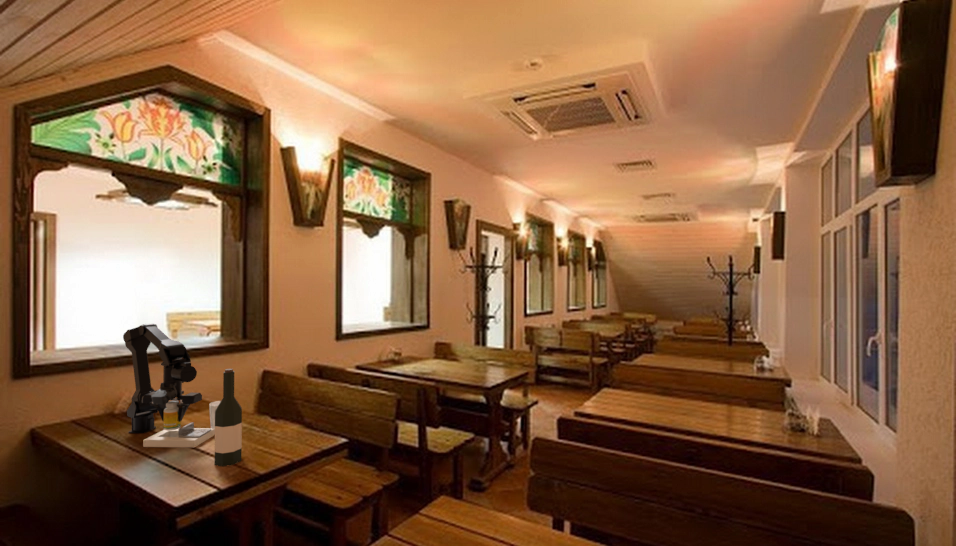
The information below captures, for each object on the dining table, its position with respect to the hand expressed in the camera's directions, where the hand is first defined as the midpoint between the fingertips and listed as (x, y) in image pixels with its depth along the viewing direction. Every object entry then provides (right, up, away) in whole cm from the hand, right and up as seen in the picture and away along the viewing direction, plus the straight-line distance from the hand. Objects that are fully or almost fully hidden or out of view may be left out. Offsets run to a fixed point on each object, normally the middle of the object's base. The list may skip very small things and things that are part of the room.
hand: (172, 421), depth 174 cm
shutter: (+8, -5, 0) cm, 10 cm away
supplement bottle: (0, -3, 0) cm, 3 cm away
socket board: (+3, -7, 0) cm, 8 cm away
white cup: (+10, -7, +14) cm, 19 cm away
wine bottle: (+30, -8, -18) cm, 36 cm away
